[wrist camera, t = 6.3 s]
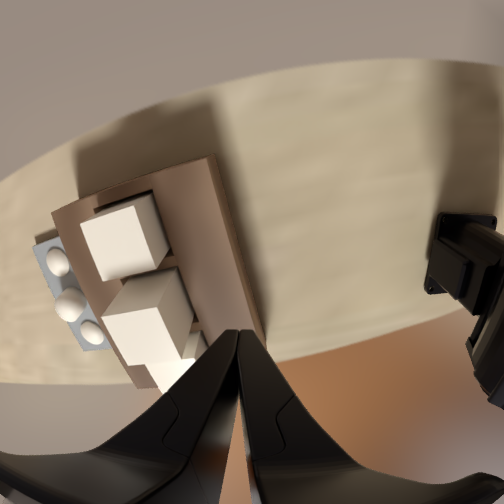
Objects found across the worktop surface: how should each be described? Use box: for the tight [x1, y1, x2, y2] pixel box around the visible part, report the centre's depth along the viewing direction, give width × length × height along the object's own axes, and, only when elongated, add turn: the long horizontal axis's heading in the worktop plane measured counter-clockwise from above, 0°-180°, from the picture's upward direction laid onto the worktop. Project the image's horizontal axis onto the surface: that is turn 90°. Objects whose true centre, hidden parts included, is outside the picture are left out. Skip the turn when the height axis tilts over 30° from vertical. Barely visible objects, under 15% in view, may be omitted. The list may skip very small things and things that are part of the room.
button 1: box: [80, 190, 171, 281], centre depth 16 cm, size 3×3×5 cm
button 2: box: [145, 330, 209, 394], centre depth 19 cm, size 3×3×5 cm
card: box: [32, 236, 112, 351], centre depth 20 cm, size 4×10×2 cm, turn 14°
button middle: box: [101, 266, 195, 366], centre depth 16 cm, size 3×3×5 cm
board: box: [51, 154, 267, 389], centre depth 19 cm, size 10×14×4 cm
